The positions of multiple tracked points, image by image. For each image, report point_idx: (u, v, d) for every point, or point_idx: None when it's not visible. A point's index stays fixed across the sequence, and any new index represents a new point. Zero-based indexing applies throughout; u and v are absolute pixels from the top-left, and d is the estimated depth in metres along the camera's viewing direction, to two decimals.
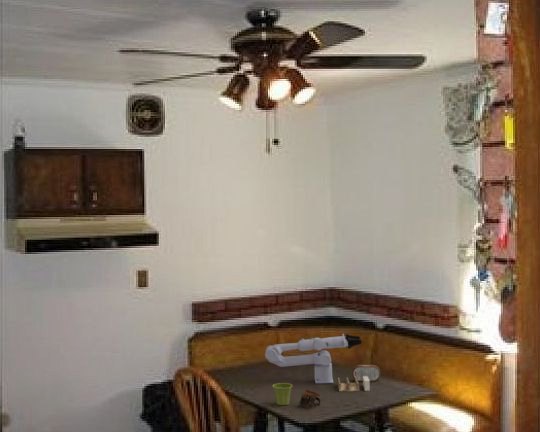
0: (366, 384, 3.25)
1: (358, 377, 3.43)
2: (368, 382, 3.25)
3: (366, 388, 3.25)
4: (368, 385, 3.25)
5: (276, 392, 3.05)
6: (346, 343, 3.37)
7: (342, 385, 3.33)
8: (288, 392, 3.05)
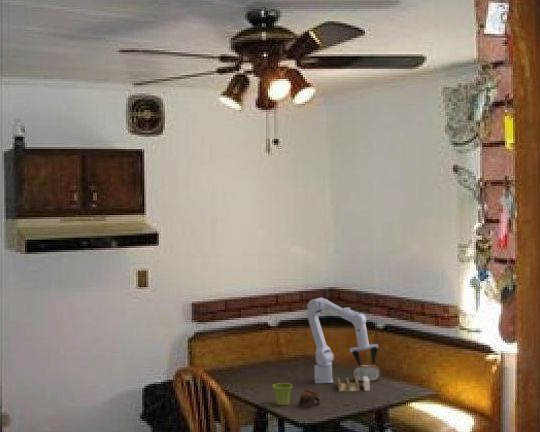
0: (366, 384, 3.25)
1: (358, 377, 3.43)
2: (368, 382, 3.25)
3: (366, 388, 3.25)
4: (368, 385, 3.25)
5: (276, 392, 3.05)
6: (350, 351, 3.30)
7: (342, 385, 3.33)
8: (288, 392, 3.05)
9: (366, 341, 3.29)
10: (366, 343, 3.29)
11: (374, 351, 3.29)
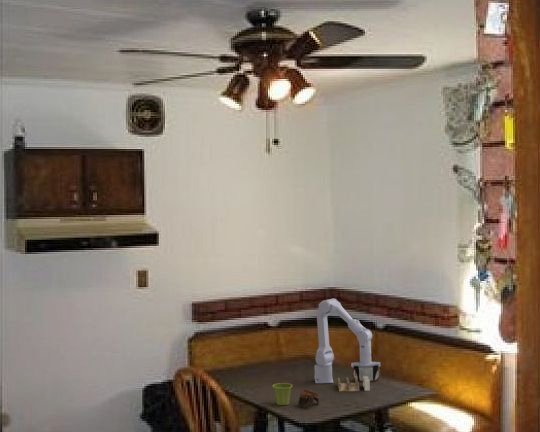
0: (366, 384, 3.25)
1: None
2: (368, 382, 3.25)
3: (366, 388, 3.25)
4: (368, 385, 3.25)
5: (276, 392, 3.05)
6: (351, 365, 3.29)
7: (342, 385, 3.33)
8: (288, 392, 3.05)
9: (368, 358, 3.27)
10: (368, 360, 3.27)
11: (375, 369, 3.27)
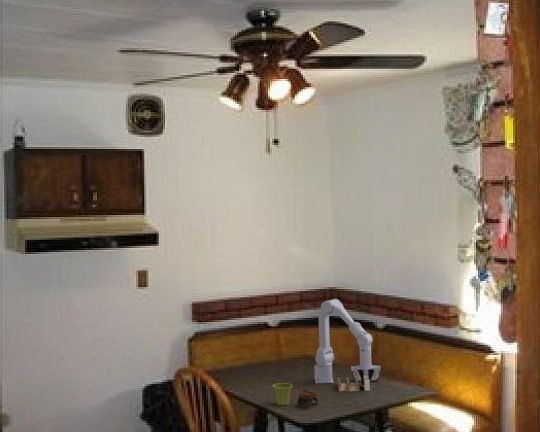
0: (366, 384, 3.25)
1: (358, 377, 3.43)
2: (368, 382, 3.25)
3: (366, 388, 3.25)
4: (368, 385, 3.25)
5: (276, 392, 3.05)
6: (351, 369, 3.29)
7: (342, 385, 3.33)
8: (288, 392, 3.05)
9: (368, 362, 3.27)
10: (368, 364, 3.27)
11: (370, 373, 3.27)
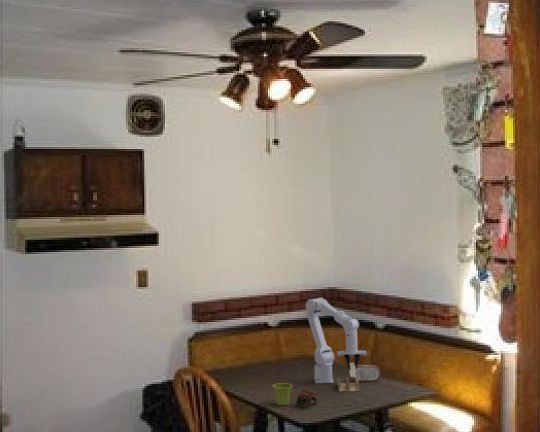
0: (352, 370, 3.26)
1: (358, 377, 3.43)
2: (354, 368, 3.26)
3: (352, 374, 3.26)
4: (354, 371, 3.26)
5: (276, 392, 3.05)
6: None
7: (342, 385, 3.33)
8: (288, 392, 3.05)
9: (354, 347, 3.28)
10: (354, 349, 3.28)
11: (356, 358, 3.28)
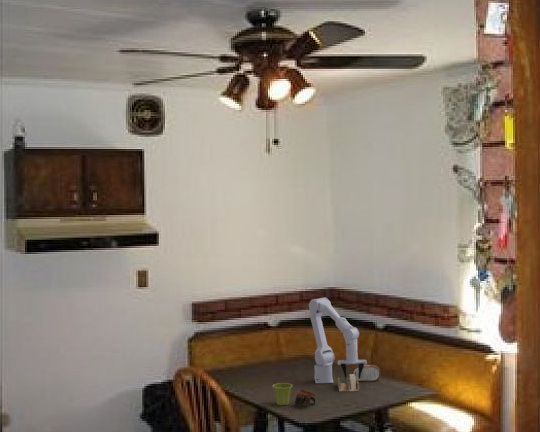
0: (352, 382, 3.26)
1: None
2: (354, 380, 3.26)
3: (352, 386, 3.26)
4: (354, 383, 3.26)
5: (276, 392, 3.05)
6: (338, 363, 3.31)
7: (342, 385, 3.33)
8: (288, 392, 3.04)
9: (354, 356, 3.28)
10: (354, 358, 3.28)
11: (360, 367, 3.28)
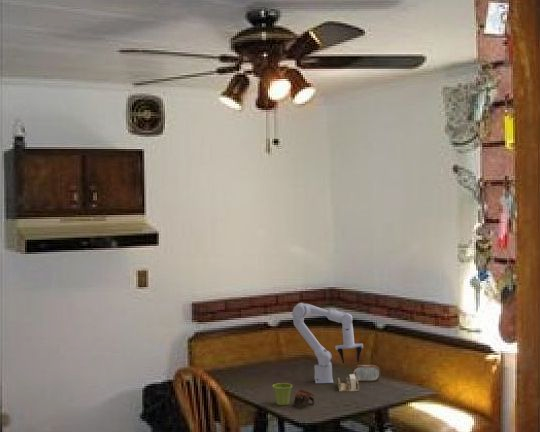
0: (352, 382, 3.26)
1: (358, 377, 3.43)
2: (354, 380, 3.26)
3: (352, 386, 3.26)
4: (354, 383, 3.26)
5: (276, 392, 3.05)
6: None
7: (342, 385, 3.33)
8: (288, 392, 3.05)
9: (351, 340, 3.39)
10: (351, 342, 3.39)
11: (358, 351, 3.39)
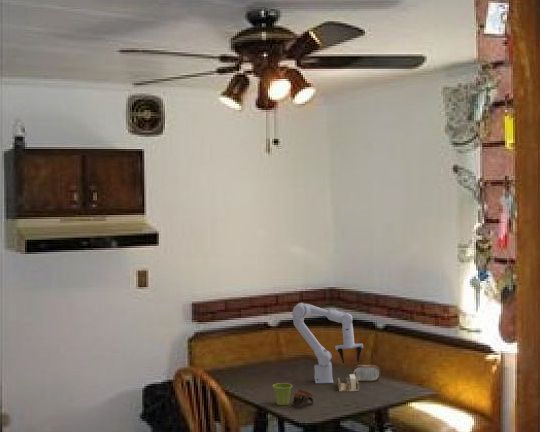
0: (352, 382, 3.26)
1: (358, 377, 3.43)
2: (354, 380, 3.26)
3: (352, 386, 3.26)
4: (354, 383, 3.26)
5: (276, 392, 3.05)
6: None
7: (342, 385, 3.33)
8: (288, 392, 3.05)
9: (351, 340, 3.39)
10: (351, 342, 3.39)
11: (358, 351, 3.39)
